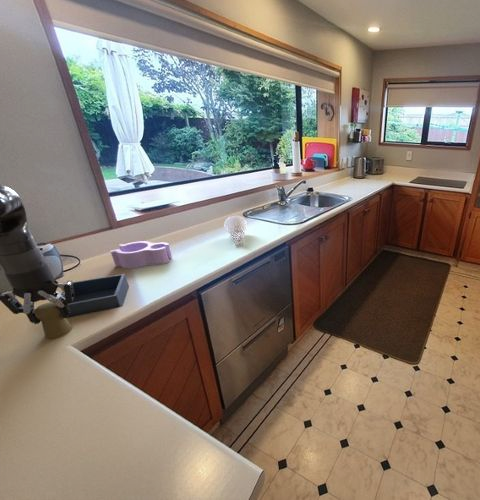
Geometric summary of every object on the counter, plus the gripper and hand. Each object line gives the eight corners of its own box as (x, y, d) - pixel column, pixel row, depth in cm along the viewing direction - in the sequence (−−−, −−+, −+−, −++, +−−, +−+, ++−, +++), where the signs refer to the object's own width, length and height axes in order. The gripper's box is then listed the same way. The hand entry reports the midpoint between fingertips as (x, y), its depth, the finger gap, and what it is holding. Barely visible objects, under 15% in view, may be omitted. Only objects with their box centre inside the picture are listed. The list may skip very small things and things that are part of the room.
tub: (58, 322, 86) (51, 308, 84) (74, 296, 98) (68, 282, 96) (121, 309, 93) (116, 295, 90) (129, 286, 105) (124, 273, 103)
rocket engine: (239, 229, 135) (235, 211, 148) (222, 244, 136) (219, 225, 149) (257, 242, 144) (251, 224, 156) (240, 256, 144) (236, 237, 157)
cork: (46, 347, 77) (28, 315, 72) (47, 335, 81) (30, 304, 76) (75, 337, 80) (60, 306, 76) (75, 326, 84) (61, 296, 80)
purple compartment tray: (175, 253, 131) (172, 240, 128) (165, 266, 120) (161, 251, 117) (127, 255, 127) (122, 242, 124) (111, 269, 116) (106, 254, 113)
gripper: (67, 254, 77) (89, 305, 84) (-8, 264, 71) (23, 318, 78) (57, 266, 71) (82, 320, 78) (-26, 278, 65) (9, 335, 72)
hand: (52, 319), depth 78 cm, fingers open, 5 cm apart
